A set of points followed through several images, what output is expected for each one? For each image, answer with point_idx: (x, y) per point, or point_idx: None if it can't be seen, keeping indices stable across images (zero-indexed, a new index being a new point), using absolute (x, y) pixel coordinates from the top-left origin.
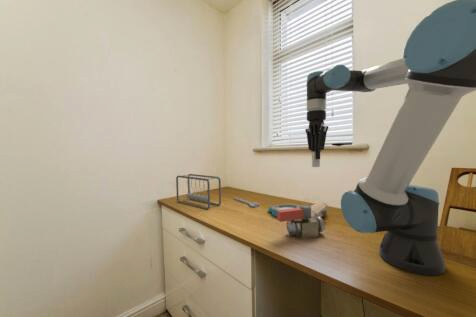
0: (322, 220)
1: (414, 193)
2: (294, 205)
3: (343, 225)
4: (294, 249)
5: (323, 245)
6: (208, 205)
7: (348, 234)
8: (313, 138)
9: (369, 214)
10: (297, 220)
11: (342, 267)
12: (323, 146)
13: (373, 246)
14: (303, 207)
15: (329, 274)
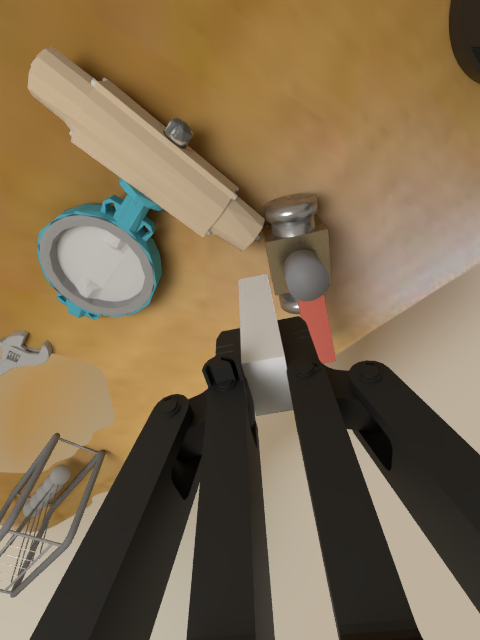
0: (311, 205)
1: None
2: (66, 228)
3: (227, 54)
4: (367, 296)
5: (368, 221)
6: (102, 460)
7: (315, 91)
8: (267, 594)
9: None
10: None
11: (469, 223)
12: (408, 399)
13: (419, 52)
14: (311, 290)
15: (476, 260)
